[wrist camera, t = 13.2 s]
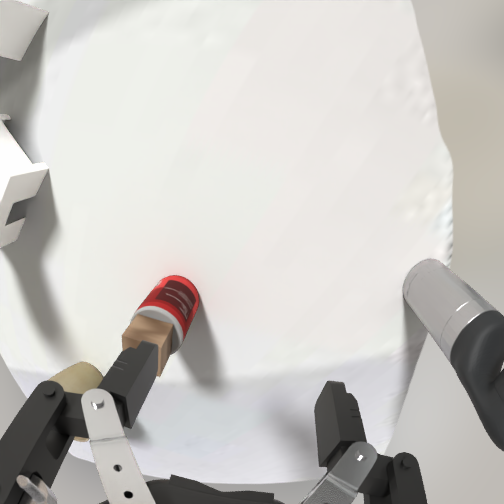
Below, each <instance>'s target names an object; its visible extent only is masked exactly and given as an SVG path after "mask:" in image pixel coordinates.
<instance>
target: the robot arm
mask: <svg viewBox="0 0 504 504" xmlns="http://www.w3.org/2000/svg"><path fill="white" fill-rule="evenodd" d="M403 295H404V298H405V300H406V302H407V303H408V305H409V306H410V307H411V309H412V310H413V311H414V313H415V314H416V315H417V317H418V318H419V319H420V321H421V322H422V323H423V325H424V326H425V328H426V329H427V330H428V332H429V333H430V334H431V336H432V337H433V339H434V340H435V342H436V343H437V344H438V346H439V347H440V349H441V350H442V351H443V353H444V354H445V356H446V357H447V359H448V360H449V362H450V363H451V365H452V366H453V368H454V369H455V371H456V373H457V376H458V378H459V379H460V381H461V383H462V385H463V386H464V388H465V390H466V391H467V393H468V395H469V397H470V399H471V401H472V403H473V405H474V407H475V409H476V411H477V414H478V416H479V418H480V420H481V422H482V424H483V426H484V428H485V430H486V432H487V433H488V435H489V436H490V438H491V440H492V441H493V442H494V443H495V444H496V446H497V447H498V448H499V449H501V450H502V451H504V369H503V370H502V371H501V368H502V365H503V362H504V316H503V315H502V314H501V313H500V312H498V311H497V310H496V309H495V308H494V307H493V306H492V305H491V304H489V302H488V301H486V300H485V299H484V298H483V297H482V296H481V295H480V294H478V293H477V292H476V291H475V290H474V289H473V288H471V287H470V286H469V285H468V284H467V283H466V282H464V281H463V280H462V279H461V278H460V277H458V276H457V275H456V274H455V273H453V271H451V270H450V269H449V268H448V267H446V266H445V265H444V264H443V263H441V262H440V261H438V260H435V259H427V260H424V261H422V262H420V263H418V264H417V265H415V266H414V267H413V268H412V269H411V271H410V272H409V273H408V275H407V277H406V279H405V282H404V286H403ZM500 371H501V372H500ZM157 372H158V344H155V343H151V342H148V341H145V340H142V341H141V342H140V344H139V345H138V347H137V349H135V348H132V347H129V348H127V349H126V350H124V351H122V352H121V354H120V355H119V356H118V358H117V360H116V361H115V362H114V364H113V366H112V367H111V368H110V369H109V371H108V372H107V374H106V375H105V377H104V378H103V380H102V381H101V383H100V384H99V386H98V387H97V388H96V389H91V390H88V391H86V392H85V393H84V394H78V393H72V392H66V391H64V389H63V387H62V386H61V385H60V384H59V383H58V382H55V381H51V380H48V381H44V382H41V383H40V384H39V385H38V386H37V387H36V388H35V390H34V391H33V393H32V394H31V395H30V397H29V398H28V400H27V401H26V402H25V404H24V405H23V407H22V408H21V410H20V411H19V412H18V414H17V415H16V417H15V418H14V420H13V421H12V423H11V424H10V426H9V427H8V429H7V430H6V432H5V434H4V435H3V437H2V438H1V440H0V504H57V499H56V496H55V494H54V493H53V492H52V490H51V489H50V488H51V486H52V484H53V481H54V479H55V477H56V475H57V473H58V470H59V469H60V466H61V464H62V462H63V460H64V458H65V456H66V454H67V452H68V450H69V448H70V446H71V444H72V442H73V440H74V438H75V436H76V437H81V438H88V439H90V446H91V450H92V453H93V457H94V460H95V463H96V467H97V470H98V473H99V476H100V479H101V482H102V485H103V487H104V490H105V493H106V495H107V498H108V500H106V501H104V502H102V503H99V504H284V503H282V502H280V501H278V500H275V499H274V494H273V493H265V492H256V491H235V492H221V491H218V490H216V489H213V488H211V487H209V486H206V485H204V484H202V483H200V482H198V481H195V480H191V479H187V478H183V477H179V476H175V475H172V474H171V477H170V480H167V479H164V480H163V479H161V480H152V481H148V482H145V480H144V478H143V476H142V474H141V471H140V469H139V467H138V464H137V462H136V459H135V457H134V455H133V452H132V450H131V447H130V444H129V442H128V439H127V437H126V436H125V434H124V431H123V428H124V426H125V427H128V428H130V429H131V428H132V426H133V424H134V422H135V420H136V417H137V415H138V413H139V411H140V409H141V407H142V405H143V403H144V401H145V399H146V397H147V395H148V393H149V391H150V389H151V387H152V385H153V383H154V381H155V378H156V376H157ZM314 413H315V424H316V435H317V447H318V459H319V467H327V473H326V474H325V475H324V476H323V477H322V479H321V480H320V481H319V482H318V483H317V485H316V486H315V487H314V488H313V489H312V490H311V491H310V492H309V493H308V494H307V496H306V497H305V498H304V499H303V500H302V501H301V502H300V503H299V504H351V503H352V502H353V500H354V499H355V497H356V496H357V494H358V492H360V493H363V494H364V504H427V499H426V494H425V490H424V485H423V481H422V476H421V472H420V468H419V464H418V461H417V459H416V458H415V457H414V456H413V455H411V454H409V453H406V452H403V453H399V454H397V455H396V456H395V457H394V458H393V457H388V456H384V455H380V454H378V453H377V452H376V450H375V448H374V447H373V446H372V445H371V444H369V443H367V440H366V436H365V432H364V427H363V423H362V419H361V415H360V411H359V407H358V403H357V400H356V399H355V398H354V396H353V395H352V394H351V393H346V389H345V385H344V383H343V382H336V381H327V382H326V384H325V386H324V388H323V390H322V392H321V394H320V396H319V398H318V399H317V401H316V404H315V410H314Z"/></svg>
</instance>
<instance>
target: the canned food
mask: <svg viewBox="0 0 504 504" xmlns="http://www.w3.org/2000/svg"><path fill="white" fill-rule="evenodd" d="M198 305H199V296H198V292H197V290H196V287H195V286H194V285H193V284H192V283H191V282H190V281H189V280H188V279H186V278H184V277H182V276H177V275H173V276H168V277H166V278H163V279H162V280H160V282H159V283H158V284H157V285H156V286H155V287H154V289H153V290H152V291H151V292H150V294H149V295H148V296H147V297H146V299H145V300H144V301H143V302H142V304H141V305H140V306H139V308H138V309H137V310H136V312H135V313H134V315H133V317H132V319H131V322H132V321H133V319H134V318H135V317H136V315H137V314H140V315H143V316H147V317H150V318H153V319H157V320H160V321H164V322H167V323H171V324H173V335H172V347H171V354H173V353H175V352H176V351H177V350H178V349H179V348H180V346H181V345H182V342H183V340H184V338H185V336H186V334H187V331H188V329H189V327H190V324H191V322H192V320H193V317H194V315H195V313H196V311H197V308H198ZM131 322H130V324H131ZM171 354H170V355H171Z"/></svg>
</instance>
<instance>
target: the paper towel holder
mask: <svg viewBox="0 0 504 504" xmlns="http://www.w3.org/2000/svg"><path fill="white" fill-rule="evenodd" d="M6 119H11V118H10V117H9V115H0V248H2V247H4V246H5V245H7V244H9V243H11V242H13V241H15V240H17V238H18V236H19V233H20V231H21V228H22V226H23V223H24V221H25V218H26V217H25V218H23V219H20V220H18V221H16V222H13V223H11V224H8V225H6V222H7V219H8V216H9V213H10V211H11V208H12V205H13V203H15V202H18V201H21V200H24V199H27V198H31V197H34V196H36V194H37V191H38V189H39V187H40V185H41V183H42V181H43V179H44V177H45V175H46V174H47V172H48V170H49V168H48V167H47V165H46V164H45V163H44V162H41V163H35V164H32V162H31V161H30V160H29V158H28V157H27V156H26V154H25V153H24V152H23V150H22V149H21V148H20V146H19V145H18V144H17V142H16V141H15V139H14V138H13V137H12V135H11V134H10V132H9V131H8V129H7V128H6V126H5V125H4V122H5V120H6ZM5 225H6V226H5Z"/></svg>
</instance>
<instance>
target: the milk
mask: <svg viewBox="0 0 504 504" xmlns="http://www.w3.org/2000/svg"><path fill="white" fill-rule="evenodd" d="M48 13H49V12H48V11H45V10H42V9H39V8H37V7H34V6H31V5H28V4H25V3H22V2H19V1H16V0H0V56H1V57H5V58H10V59H14V60H18V61H21V60H22V58H23V56H24V54H25V52H26V50H27V48H28V46H29V44H30V43H31V41H32V39H33V37H34V36H35V34H36V32H37V31H38V29H39V27H40V26H41V24H42V22H43V21H44V19H45V18H46V16H47V15H48Z"/></svg>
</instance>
